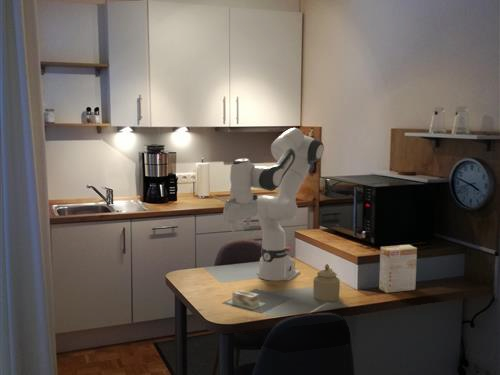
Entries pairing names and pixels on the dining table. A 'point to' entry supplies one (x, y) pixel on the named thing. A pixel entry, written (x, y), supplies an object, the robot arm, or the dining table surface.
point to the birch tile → (245, 298)
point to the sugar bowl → (326, 285)
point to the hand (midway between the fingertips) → (240, 229)
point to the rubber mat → (262, 301)
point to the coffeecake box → (397, 268)
